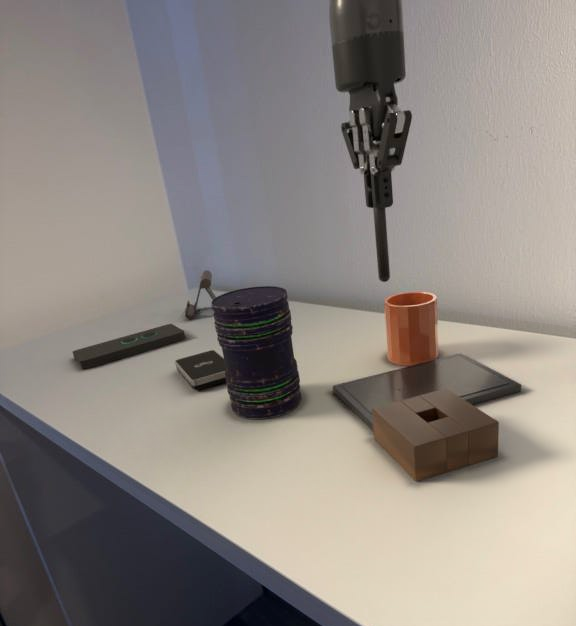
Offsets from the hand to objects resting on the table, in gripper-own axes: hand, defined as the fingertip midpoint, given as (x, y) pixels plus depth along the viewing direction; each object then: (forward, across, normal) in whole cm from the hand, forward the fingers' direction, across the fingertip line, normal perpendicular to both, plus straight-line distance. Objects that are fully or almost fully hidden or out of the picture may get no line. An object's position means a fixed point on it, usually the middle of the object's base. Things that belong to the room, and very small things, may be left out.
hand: (379, 206), depth 64 cm
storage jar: (+24, +5, +17) cm, 29 cm away
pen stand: (+24, -16, +4) cm, 29 cm away
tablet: (+24, -4, -2) cm, 24 cm away
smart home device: (+23, +43, +33) cm, 59 cm away
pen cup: (+24, +8, -8) cm, 26 cm away
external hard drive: (+23, +20, +22) cm, 38 cm away
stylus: (+9, 0, 0) cm, 9 cm away
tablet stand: (+24, +58, +16) cm, 65 cm away
